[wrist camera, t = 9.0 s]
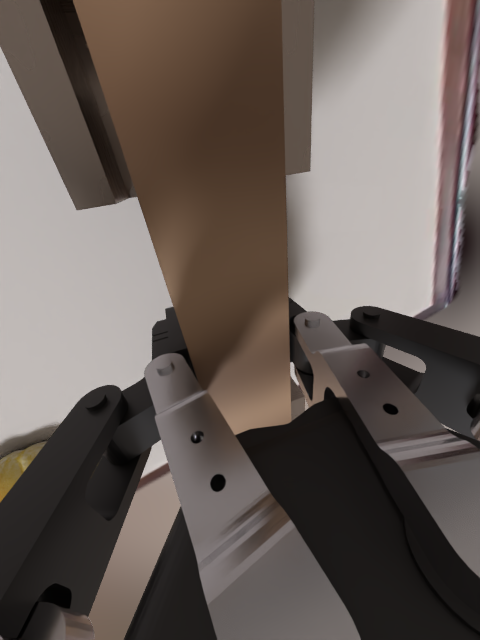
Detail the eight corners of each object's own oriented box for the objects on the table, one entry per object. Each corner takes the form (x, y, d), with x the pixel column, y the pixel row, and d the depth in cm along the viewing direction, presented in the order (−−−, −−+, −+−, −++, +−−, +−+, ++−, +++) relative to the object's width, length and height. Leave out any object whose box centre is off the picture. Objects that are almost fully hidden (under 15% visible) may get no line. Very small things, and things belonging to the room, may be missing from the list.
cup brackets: (34, 24, 10) (-767, -1062, 1) (224, 19, 12) (432, -470, 3) (182, 395, 24) (199, 524, 15) (263, 368, 26) (323, 468, 16)
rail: (103, 63, 7) (45, -81, 3) (217, 56, 8) (279, -67, 4) (216, 424, 16) (235, 494, 13) (262, 407, 17) (292, 469, 13)
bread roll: (118, 466, 26) (113, 507, 23) (28, 498, 24) (8, 547, 21) (86, 422, 22) (74, 464, 19) (-27, 457, 20) (-63, 510, 17)
